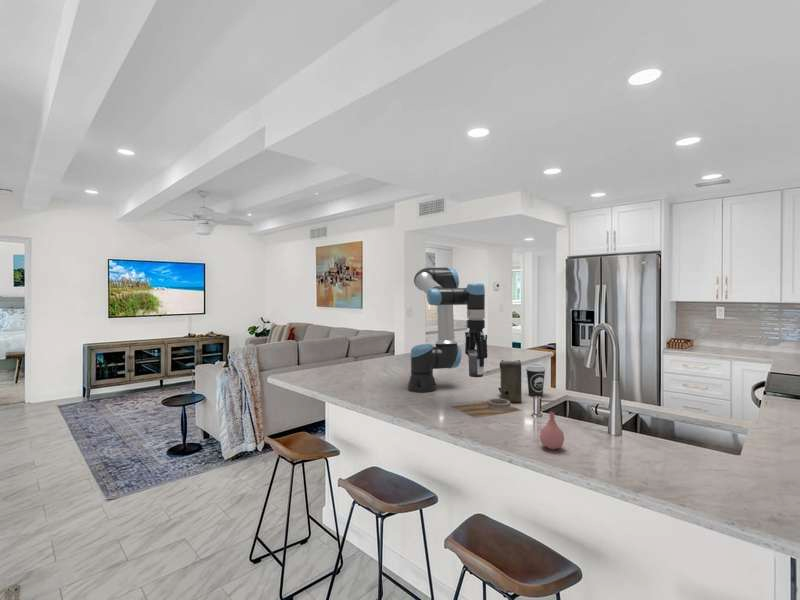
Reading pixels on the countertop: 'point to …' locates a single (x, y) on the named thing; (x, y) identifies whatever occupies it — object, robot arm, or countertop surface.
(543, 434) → the perfume bottle
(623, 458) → the countertop surface
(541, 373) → the coffee cup
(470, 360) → the lens
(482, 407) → the mount board
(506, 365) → the vintage camera
